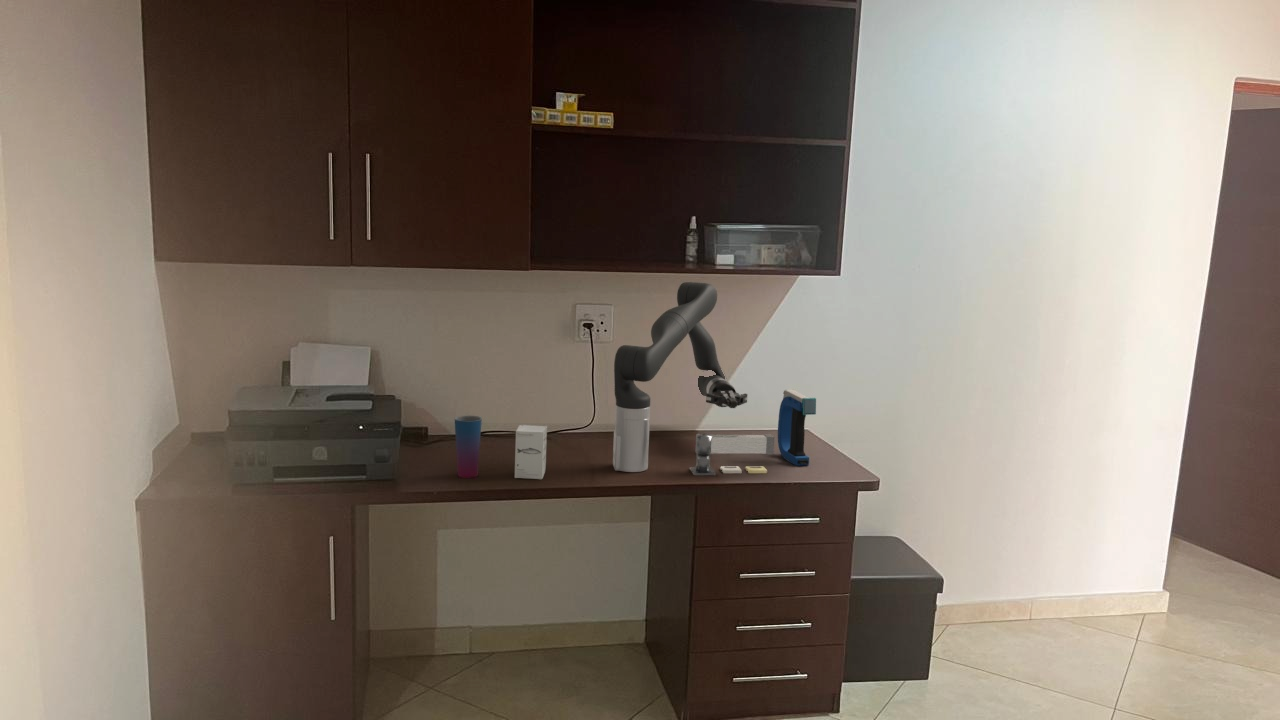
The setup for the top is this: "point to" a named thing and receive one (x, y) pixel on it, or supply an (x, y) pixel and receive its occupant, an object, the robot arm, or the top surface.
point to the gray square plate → (702, 466)
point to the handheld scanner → (794, 426)
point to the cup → (467, 445)
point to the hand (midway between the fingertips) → (733, 404)
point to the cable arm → (734, 444)
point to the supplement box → (530, 451)
